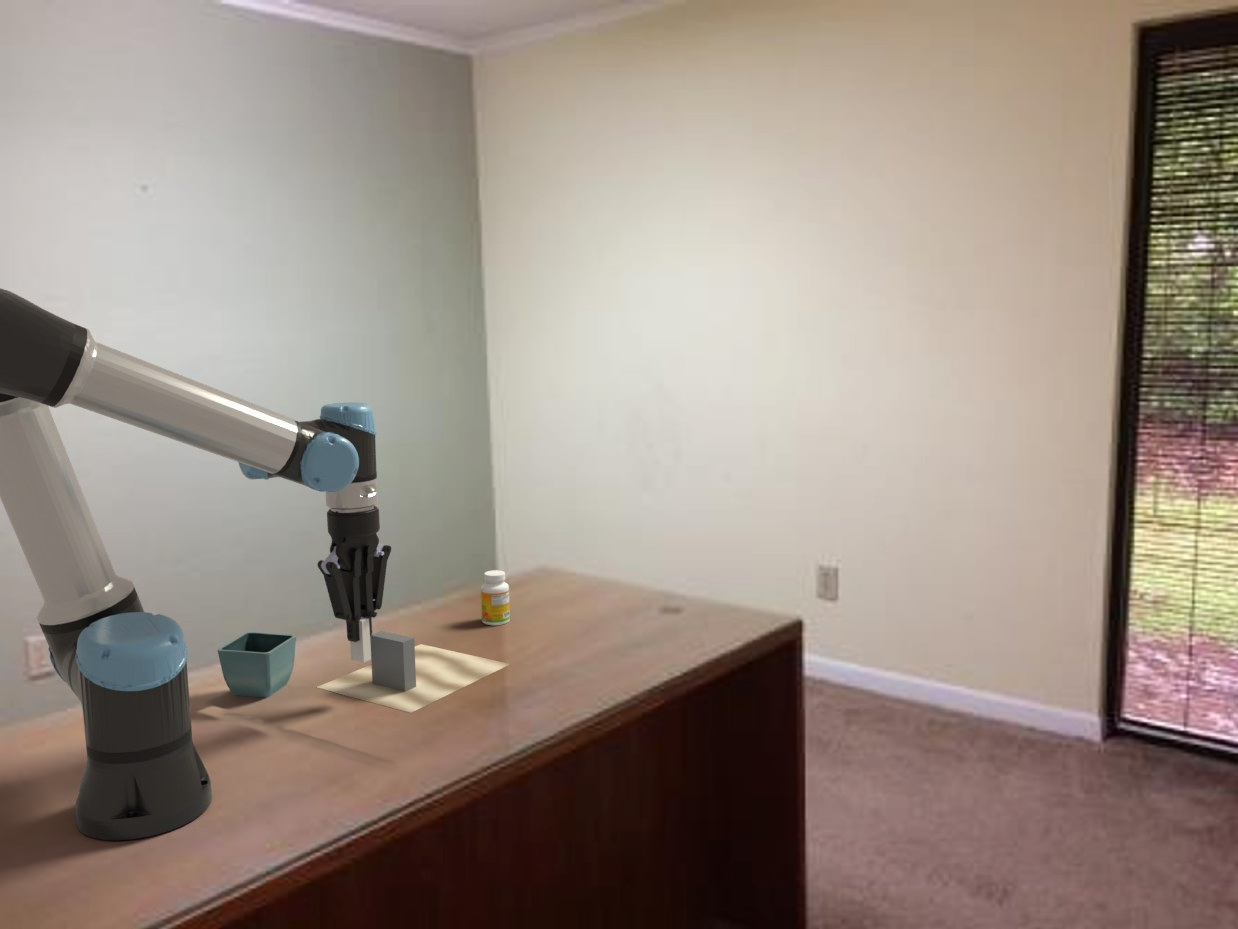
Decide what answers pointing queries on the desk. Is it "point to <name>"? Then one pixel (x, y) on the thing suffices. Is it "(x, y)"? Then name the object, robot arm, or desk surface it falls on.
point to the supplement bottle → (495, 598)
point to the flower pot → (258, 663)
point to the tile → (393, 661)
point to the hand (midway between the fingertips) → (361, 659)
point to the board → (418, 679)
